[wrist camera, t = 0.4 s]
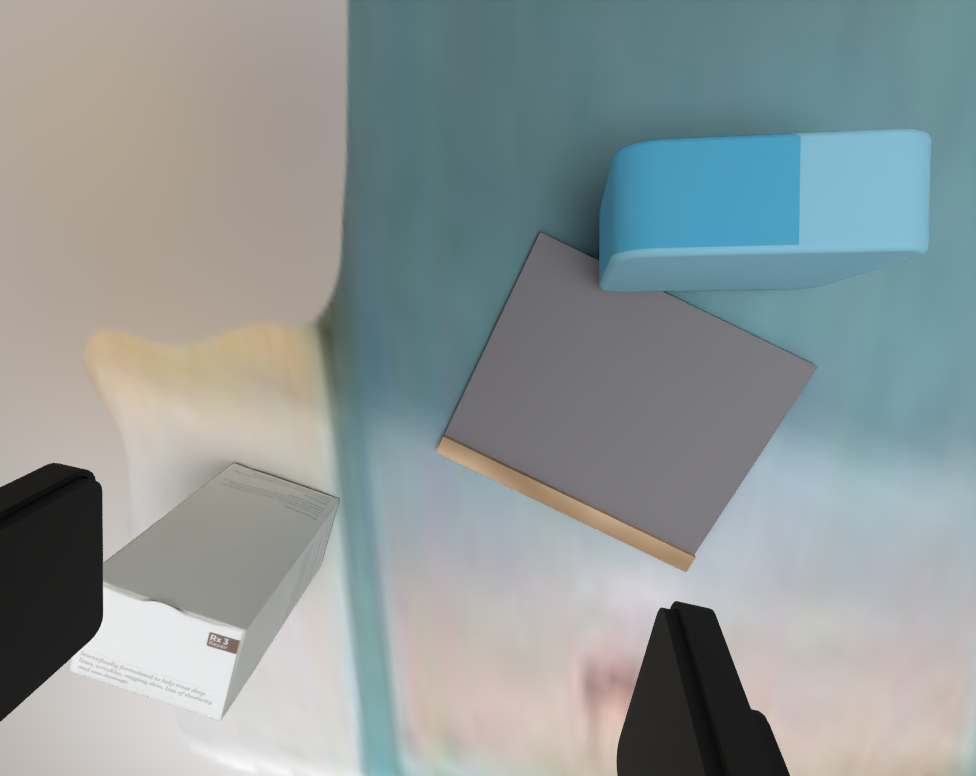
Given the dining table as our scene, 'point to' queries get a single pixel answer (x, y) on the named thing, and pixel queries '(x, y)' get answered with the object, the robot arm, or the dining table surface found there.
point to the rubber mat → (625, 396)
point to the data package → (763, 210)
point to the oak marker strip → (565, 503)
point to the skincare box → (207, 590)
